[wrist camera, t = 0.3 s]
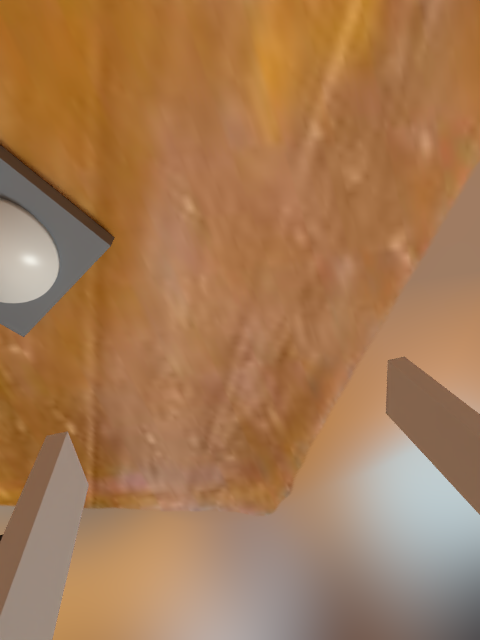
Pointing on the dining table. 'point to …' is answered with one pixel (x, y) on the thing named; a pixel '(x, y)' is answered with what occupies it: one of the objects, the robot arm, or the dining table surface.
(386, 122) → the dining table surface
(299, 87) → the dining table surface
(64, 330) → the dining table surface
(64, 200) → the grey flat block
